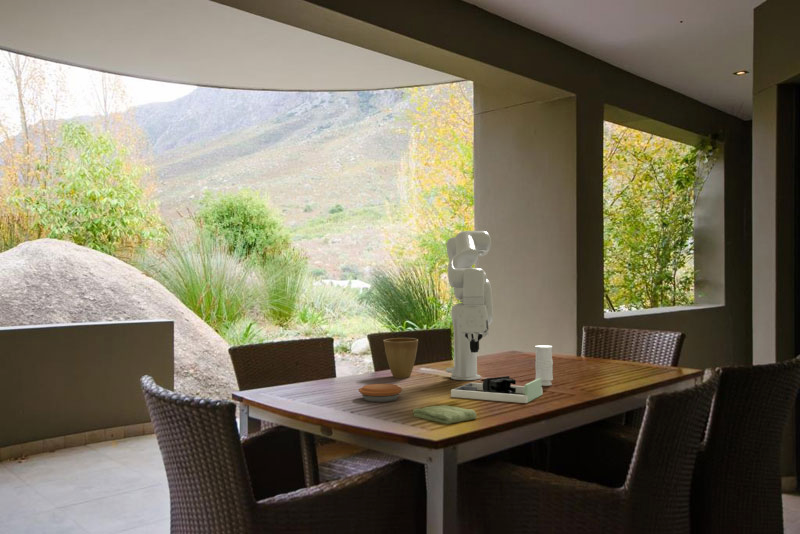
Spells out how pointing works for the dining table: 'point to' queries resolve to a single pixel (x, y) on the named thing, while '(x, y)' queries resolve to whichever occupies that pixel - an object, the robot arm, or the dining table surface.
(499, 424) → the dining table surface
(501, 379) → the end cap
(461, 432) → the dining table surface
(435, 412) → the washcloth
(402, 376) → the plant pot
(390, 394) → the pie
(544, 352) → the candle
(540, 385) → the finger lane
